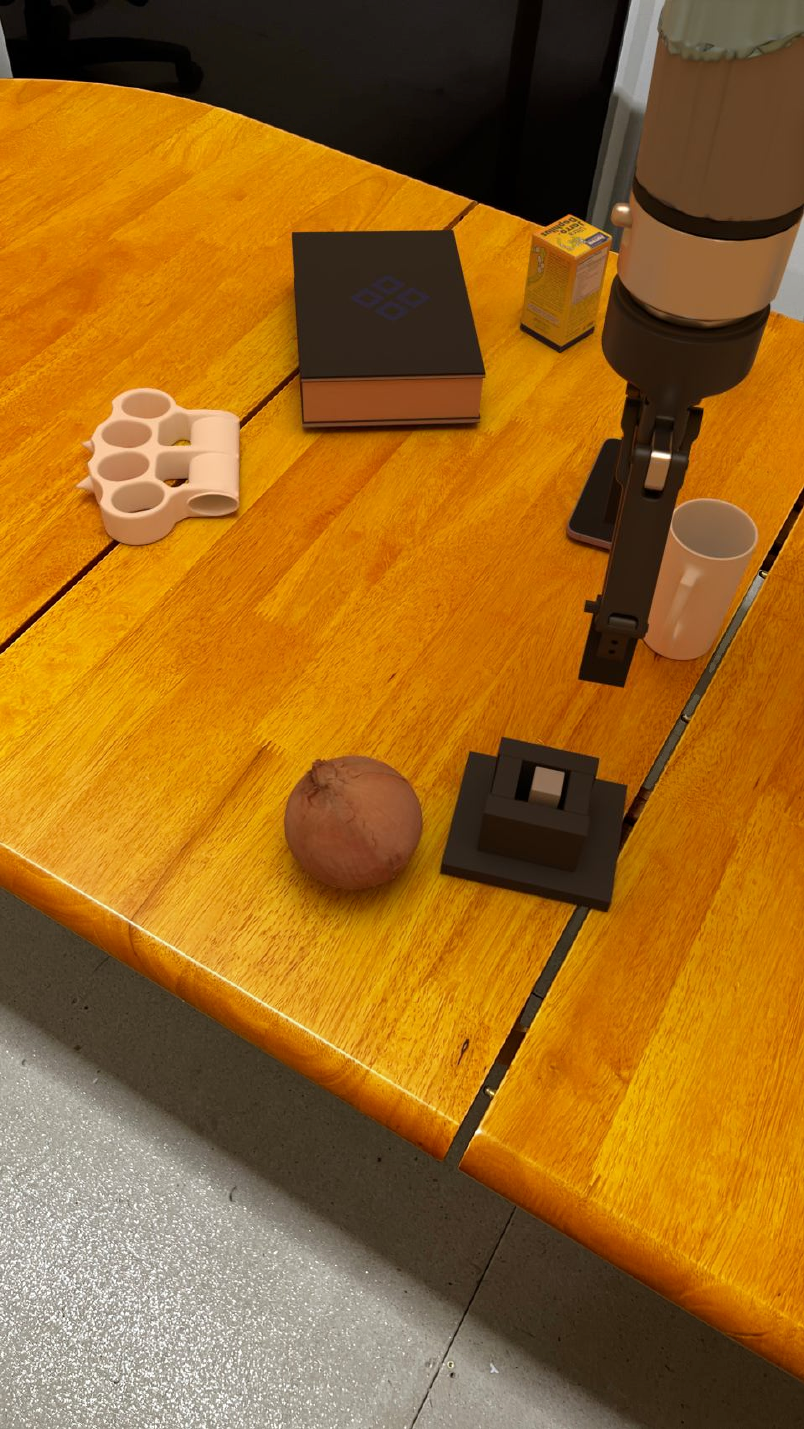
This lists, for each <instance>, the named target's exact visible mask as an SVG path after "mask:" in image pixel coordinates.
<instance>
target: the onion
mask: <svg viewBox="0 0 804 1429" xmlns="http://www.w3.org/2000/svg"><path fill="white" fill-rule="evenodd" d="M311 764H312V765H311V768H310V769H309V770H308V771H306V773H305V774H304V775H303V776H302V777H301V778H300V779H299V780H298V782H297V783H296V784H295V785H294V787H293V789H292V791H291V792H290V794H289V796H288V798H287V802H286V806H285V811H284V817H283V830H284V831H283V832H284V838H285V841H286V844H287V846H288V849H289V851H290V854H291V855H292V857H293V858H294V860H295V861H296V863H297V864H298V866H299V867H300V868H302V870H303V871H304V872H306V873H307V874H308V875H309V876H311V877H312V878H314V880H316V881H319V882H321V883H322V884H325V885H327V886H330V887H333V888H337V889H342V890H347V891H349V890H361V889H368V888H373V887H376V886H378V885H381V884H383V883H386V882H390V881H393V880H395V877H396V875H397V874H398V873H400V872H401V871H402V870H403V869H404V868H405V867H406V866H407V864H408V863H409V862H410V861H411V859H412V857H413V856H414V855H415V853H416V852H417V849H418V846H419V844H420V841H421V836H422V833H423V827H424V826H423V825H424V824H423V823H424V822H423V809H422V806H421V805H422V804H421V802H420V799H419V796H418V795H417V793H416V791H415V790H414V787H413V786H412V784H411V783H410V782H409V780H408V778H406V777H405V776H404V775H402V774H401V773H400V772H399V771H398V770H397V769H395V768H394V767H392V766H391V765H389V764H388V763H387V762H384V761H382V760H379V759H376V758H374V757H370V756H365V755H343V756H338V757H334V758H330V759H327V760H326V759H321V758H316V759H315V761H312V762H311Z"/></svg>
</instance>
